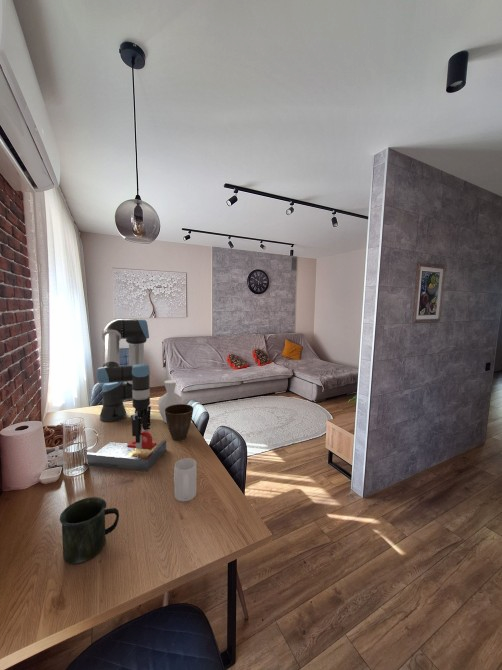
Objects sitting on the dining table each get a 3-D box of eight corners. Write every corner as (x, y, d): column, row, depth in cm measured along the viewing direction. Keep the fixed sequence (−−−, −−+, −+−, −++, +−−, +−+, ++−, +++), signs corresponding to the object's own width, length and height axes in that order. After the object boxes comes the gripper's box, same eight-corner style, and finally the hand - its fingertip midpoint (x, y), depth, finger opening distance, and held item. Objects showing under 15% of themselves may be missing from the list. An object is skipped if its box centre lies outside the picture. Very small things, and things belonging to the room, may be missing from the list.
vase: (172, 414, 178) (172, 377, 176) (187, 420, 170) (187, 381, 168) (153, 421, 166) (153, 381, 164) (168, 427, 158) (168, 386, 156)
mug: (65, 541, 80) (63, 503, 79) (119, 525, 86) (119, 489, 85) (57, 573, 70) (55, 530, 69) (119, 552, 76) (118, 513, 75)
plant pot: (191, 429, 156) (191, 403, 155) (194, 441, 142) (194, 412, 140) (164, 433, 151) (164, 405, 150) (165, 445, 137) (164, 415, 136)
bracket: (156, 445, 128) (155, 428, 128) (151, 449, 124) (151, 433, 123) (132, 442, 130) (132, 426, 130) (127, 447, 126) (126, 430, 125)
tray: (110, 444, 137) (109, 435, 136) (166, 450, 133) (166, 440, 132) (83, 464, 119) (83, 453, 119) (147, 471, 115) (147, 460, 115)
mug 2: (173, 511, 92) (173, 478, 91) (173, 489, 104) (173, 459, 103) (198, 507, 95) (198, 474, 94) (195, 485, 106) (195, 456, 105)
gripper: (143, 391, 134) (144, 436, 136) (122, 403, 117) (123, 454, 119) (157, 392, 133) (158, 437, 135) (138, 404, 116) (139, 456, 118)
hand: (141, 445), depth 127 cm, fingers closed on bracket, 4 cm apart
